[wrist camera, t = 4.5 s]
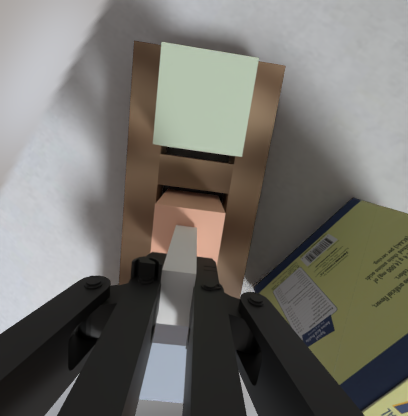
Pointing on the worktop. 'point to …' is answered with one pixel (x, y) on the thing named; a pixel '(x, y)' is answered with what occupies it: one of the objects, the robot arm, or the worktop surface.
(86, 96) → the worktop surface
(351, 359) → the protein box
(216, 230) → the peach rectangular prism
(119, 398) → the robot arm
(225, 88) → the sage rectangular block
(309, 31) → the worktop surface
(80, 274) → the worktop surface
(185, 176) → the walnut board
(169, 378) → the slate upright cuboid
